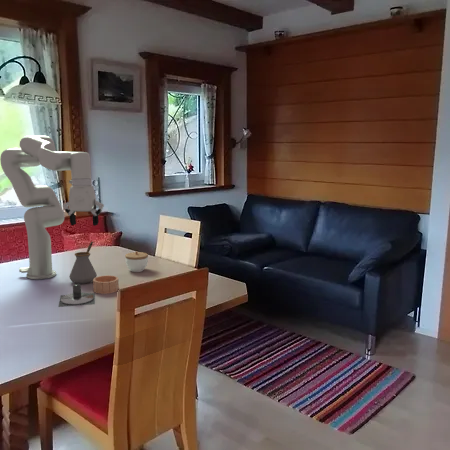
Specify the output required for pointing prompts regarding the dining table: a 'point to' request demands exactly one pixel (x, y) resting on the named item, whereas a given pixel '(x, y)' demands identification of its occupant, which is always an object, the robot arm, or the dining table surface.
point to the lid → (77, 296)
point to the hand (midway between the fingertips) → (84, 225)
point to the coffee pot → (83, 268)
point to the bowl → (105, 284)
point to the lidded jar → (136, 261)
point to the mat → (76, 305)
